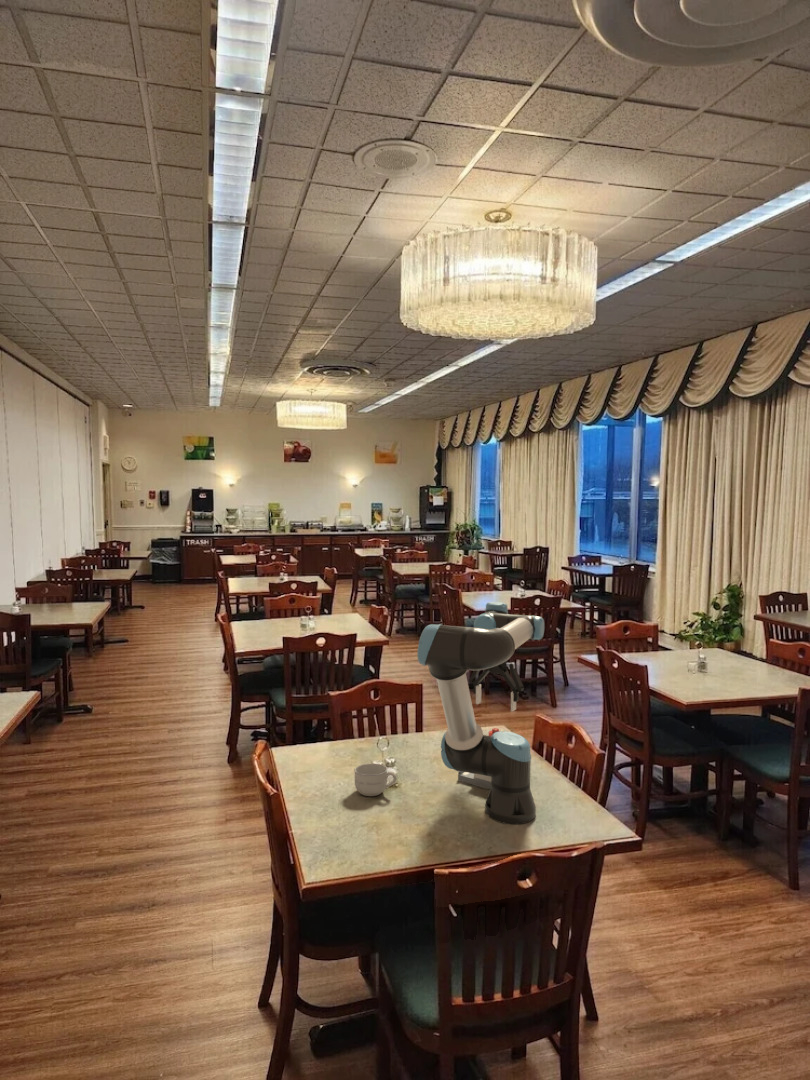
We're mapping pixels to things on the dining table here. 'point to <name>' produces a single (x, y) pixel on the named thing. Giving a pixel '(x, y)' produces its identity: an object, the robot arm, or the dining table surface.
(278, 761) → the dining table surface
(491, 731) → the red cylinder with knob
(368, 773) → the teacup
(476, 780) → the panel
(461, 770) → the robot arm
